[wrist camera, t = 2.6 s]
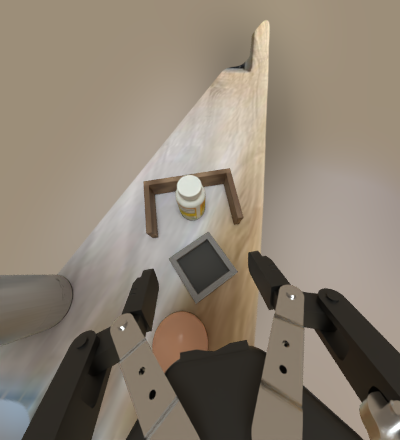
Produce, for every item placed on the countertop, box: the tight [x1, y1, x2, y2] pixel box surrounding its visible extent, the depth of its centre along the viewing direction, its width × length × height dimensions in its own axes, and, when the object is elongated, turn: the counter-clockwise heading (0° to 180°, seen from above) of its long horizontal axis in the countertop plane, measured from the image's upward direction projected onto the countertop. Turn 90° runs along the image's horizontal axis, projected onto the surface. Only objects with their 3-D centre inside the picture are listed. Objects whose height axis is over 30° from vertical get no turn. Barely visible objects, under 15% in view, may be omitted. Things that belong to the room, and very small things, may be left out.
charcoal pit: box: [169, 232, 238, 304], centre depth 29 cm, size 9×9×2 cm
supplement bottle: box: [176, 175, 205, 220], centre depth 29 cm, size 5×5×10 cm
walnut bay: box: [144, 168, 243, 238], centre depth 32 cm, size 18×11×4 cm, turn 100°
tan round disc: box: [153, 311, 208, 373], centre depth 26 cm, size 9×9×1 cm
